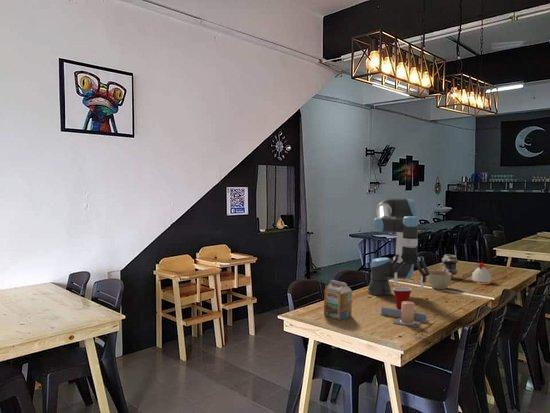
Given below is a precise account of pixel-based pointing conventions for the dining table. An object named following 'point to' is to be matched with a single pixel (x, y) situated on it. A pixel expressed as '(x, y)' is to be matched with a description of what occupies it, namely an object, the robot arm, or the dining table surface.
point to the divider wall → (397, 313)
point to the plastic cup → (401, 295)
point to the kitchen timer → (481, 275)
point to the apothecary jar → (449, 264)
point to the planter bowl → (439, 279)
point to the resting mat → (415, 324)
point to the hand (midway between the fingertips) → (408, 286)
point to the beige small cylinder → (407, 312)
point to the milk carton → (337, 300)
